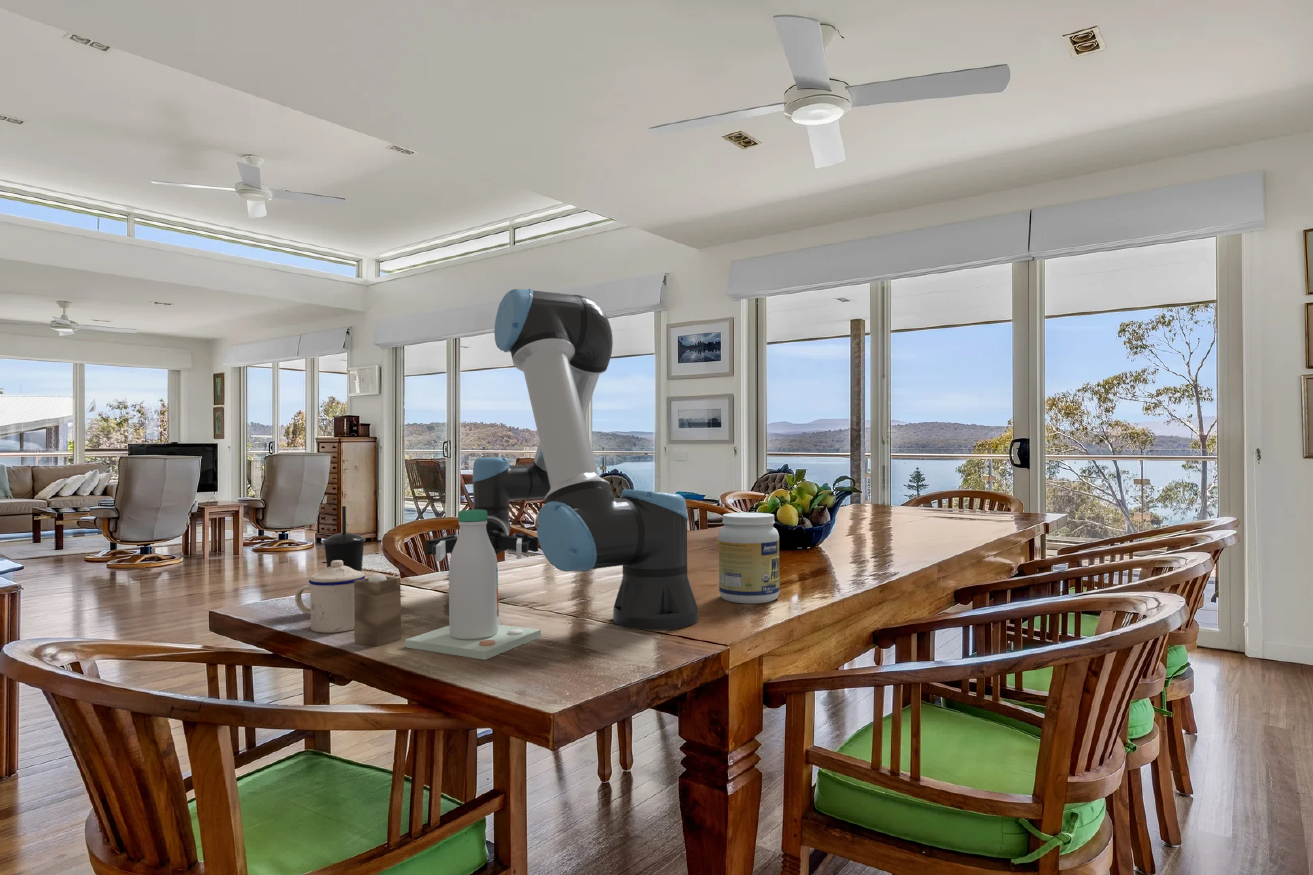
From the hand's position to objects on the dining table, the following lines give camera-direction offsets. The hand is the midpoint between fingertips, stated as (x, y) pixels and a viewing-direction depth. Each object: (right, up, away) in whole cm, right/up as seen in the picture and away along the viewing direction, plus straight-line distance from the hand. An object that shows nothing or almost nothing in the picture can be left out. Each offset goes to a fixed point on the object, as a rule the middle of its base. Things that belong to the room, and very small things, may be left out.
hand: (478, 552), depth 130 cm
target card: (+2, -13, -9) cm, 16 cm away
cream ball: (-15, -5, -8) cm, 17 cm away
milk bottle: (+1, -12, -9) cm, 15 cm away
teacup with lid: (-27, -14, +2) cm, 30 cm away
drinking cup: (-30, -14, +16) cm, 36 cm away
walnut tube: (-15, -13, -8) cm, 21 cm away
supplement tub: (+50, -13, +21) cm, 55 cm away
